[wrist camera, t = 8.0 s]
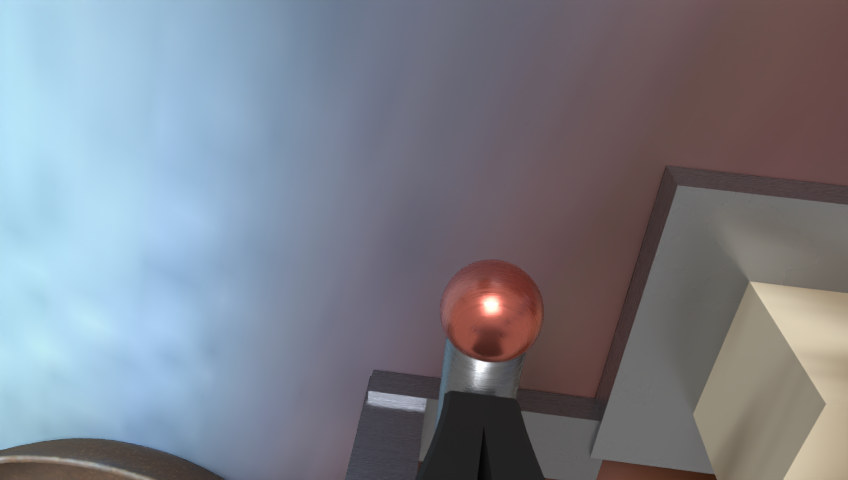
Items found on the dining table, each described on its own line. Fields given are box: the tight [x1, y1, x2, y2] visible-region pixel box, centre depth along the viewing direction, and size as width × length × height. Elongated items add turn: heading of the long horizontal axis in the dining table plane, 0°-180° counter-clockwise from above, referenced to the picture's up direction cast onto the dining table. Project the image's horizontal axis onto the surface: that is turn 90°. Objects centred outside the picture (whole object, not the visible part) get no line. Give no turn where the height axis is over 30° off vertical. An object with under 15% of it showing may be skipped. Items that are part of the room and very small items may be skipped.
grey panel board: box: [345, 166, 848, 480], centre depth 16 cm, size 19×12×7 cm, turn 85°
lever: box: [434, 260, 544, 433], centre depth 15 cm, size 2×11×3 cm, turn 175°
